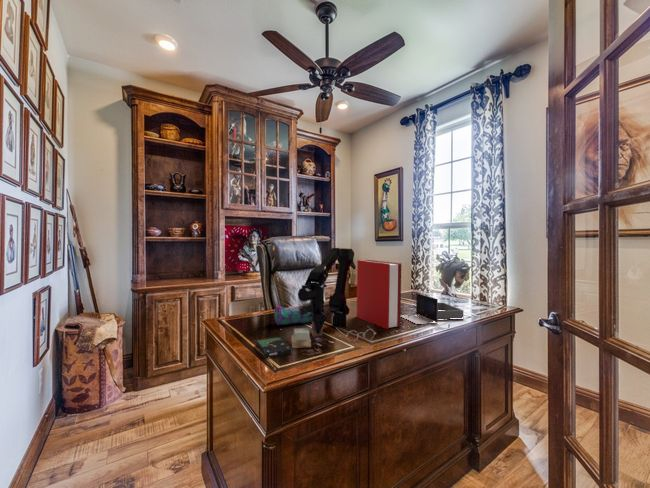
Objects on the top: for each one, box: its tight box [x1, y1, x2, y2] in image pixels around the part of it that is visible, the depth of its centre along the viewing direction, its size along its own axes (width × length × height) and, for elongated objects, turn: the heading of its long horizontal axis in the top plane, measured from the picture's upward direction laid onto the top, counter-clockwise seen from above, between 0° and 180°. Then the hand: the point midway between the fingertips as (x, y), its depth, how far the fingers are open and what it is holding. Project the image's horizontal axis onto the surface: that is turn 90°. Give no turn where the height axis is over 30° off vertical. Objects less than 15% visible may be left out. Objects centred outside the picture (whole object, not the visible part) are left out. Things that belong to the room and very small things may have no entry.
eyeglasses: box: [333, 323, 377, 342], centre depth 137 cm, size 16×19×5 cm
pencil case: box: [273, 305, 312, 326], centre depth 153 cm, size 21×9×10 cm, turn 117°
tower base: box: [290, 334, 312, 349], centre depth 123 cm, size 8×8×3 cm
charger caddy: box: [437, 302, 464, 319], centre depth 173 cm, size 18×21×5 cm
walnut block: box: [311, 321, 324, 337], centre depth 135 cm, size 4×4×6 cm
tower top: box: [293, 327, 310, 340], centre depth 123 cm, size 6×6×3 cm
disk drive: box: [256, 336, 293, 359], centre depth 117 cm, size 10×3×15 cm
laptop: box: [401, 292, 439, 325], centre depth 163 cm, size 18×12×13 cm
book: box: [356, 259, 402, 330], centre depth 158 cm, size 27×8×32 cm, turn 30°
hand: (317, 332), depth 135 cm, fingers closed on walnut block, 4 cm apart
